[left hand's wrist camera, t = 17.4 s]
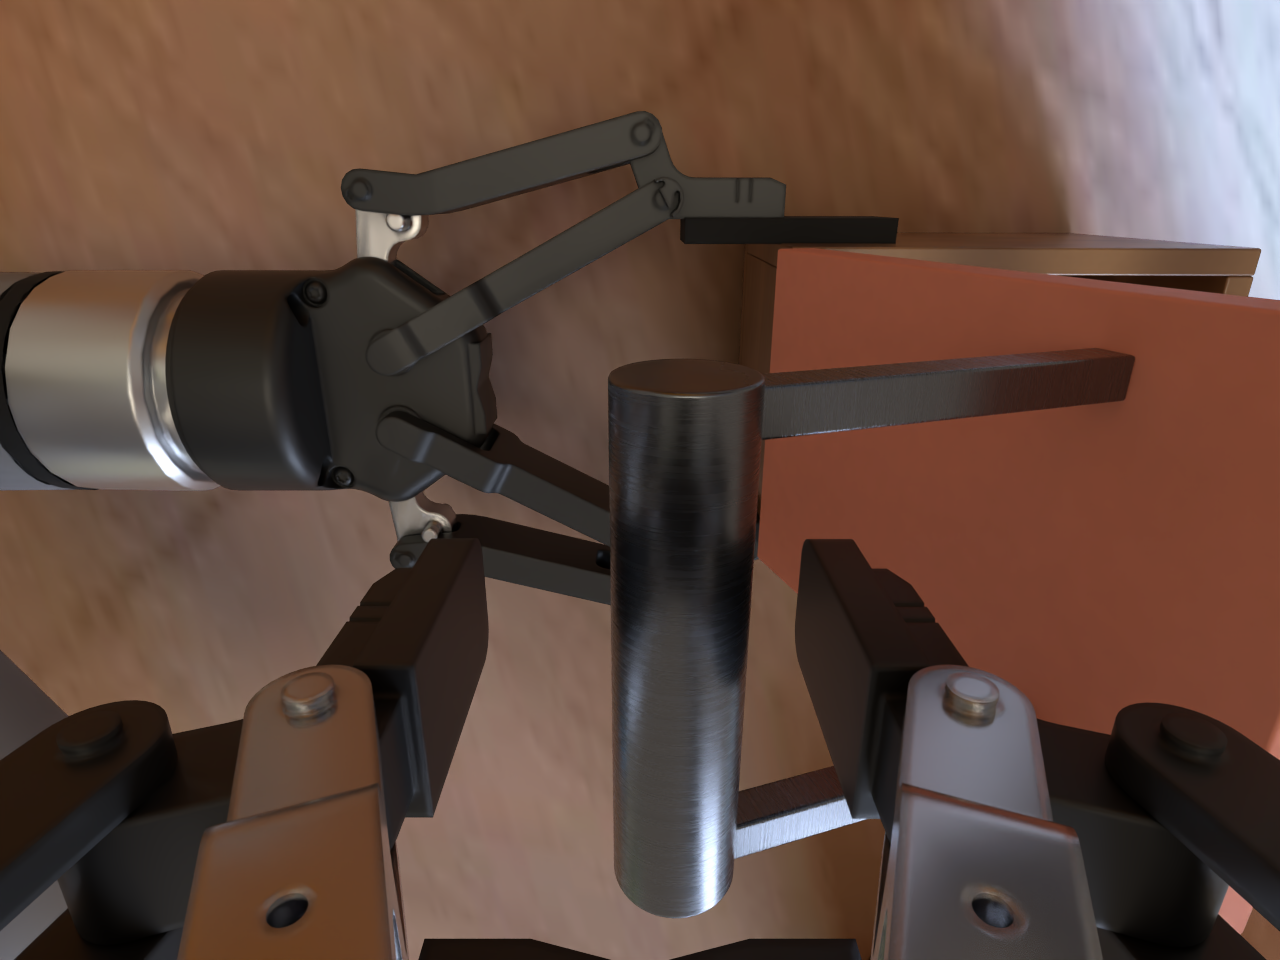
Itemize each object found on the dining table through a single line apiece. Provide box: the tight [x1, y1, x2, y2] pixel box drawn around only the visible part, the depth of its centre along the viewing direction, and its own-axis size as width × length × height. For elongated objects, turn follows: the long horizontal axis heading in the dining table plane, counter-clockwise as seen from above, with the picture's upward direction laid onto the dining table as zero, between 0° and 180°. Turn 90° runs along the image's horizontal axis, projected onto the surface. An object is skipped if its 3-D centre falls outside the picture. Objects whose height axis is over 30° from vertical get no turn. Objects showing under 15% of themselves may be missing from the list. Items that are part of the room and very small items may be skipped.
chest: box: [739, 233, 1261, 517], centre depth 27 cm, size 13×9×10 cm
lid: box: [608, 248, 1280, 934], centre depth 15 cm, size 14×9×9 cm
